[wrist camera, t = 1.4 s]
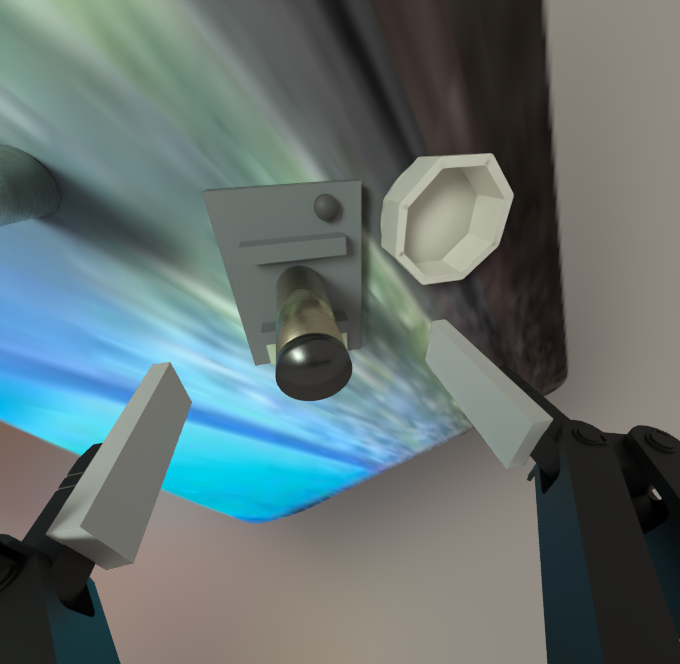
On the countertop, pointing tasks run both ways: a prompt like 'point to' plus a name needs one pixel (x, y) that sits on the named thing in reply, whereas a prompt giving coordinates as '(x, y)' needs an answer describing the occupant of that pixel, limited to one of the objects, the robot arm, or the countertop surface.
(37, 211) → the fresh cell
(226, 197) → the cradle
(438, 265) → the white octagonal bowl
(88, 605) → the robot arm
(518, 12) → the countertop surface
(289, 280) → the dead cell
